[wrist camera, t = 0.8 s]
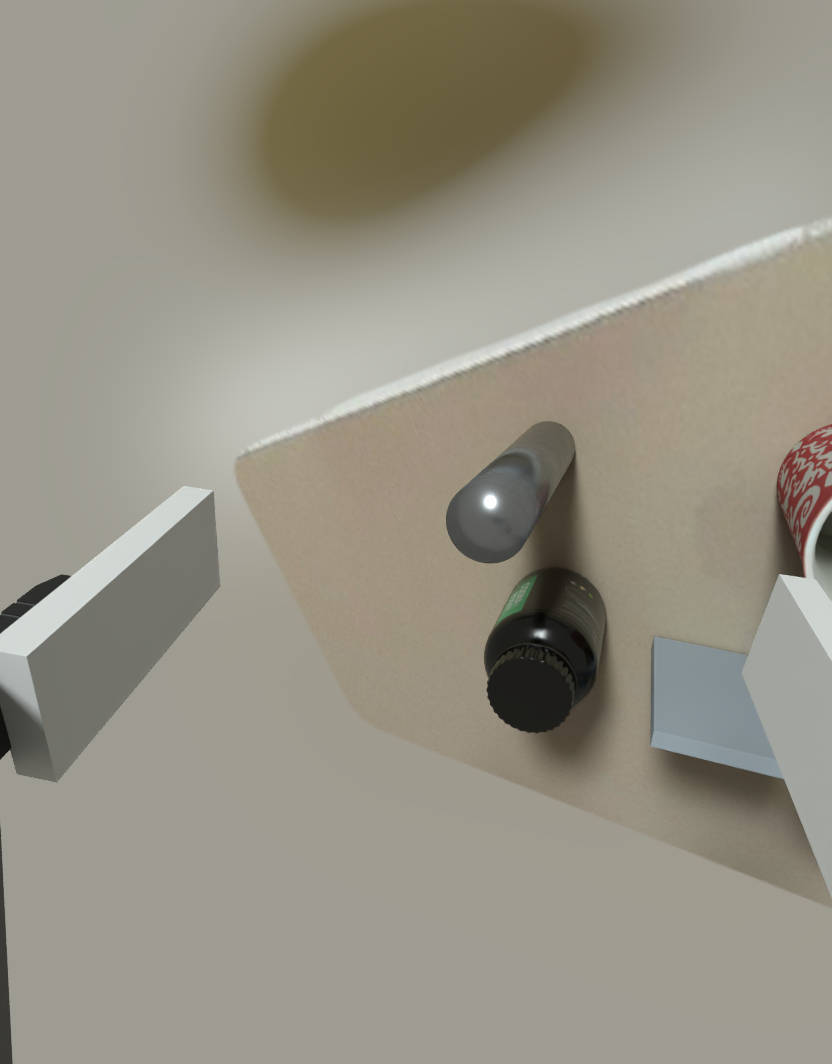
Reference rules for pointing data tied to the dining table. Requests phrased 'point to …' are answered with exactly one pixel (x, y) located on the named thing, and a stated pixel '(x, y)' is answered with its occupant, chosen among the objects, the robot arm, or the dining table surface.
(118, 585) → the robot arm
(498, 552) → the hinge pin
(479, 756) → the dining table surface
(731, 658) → the hinge leaf swing
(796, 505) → the mug
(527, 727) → the supplement bottle
